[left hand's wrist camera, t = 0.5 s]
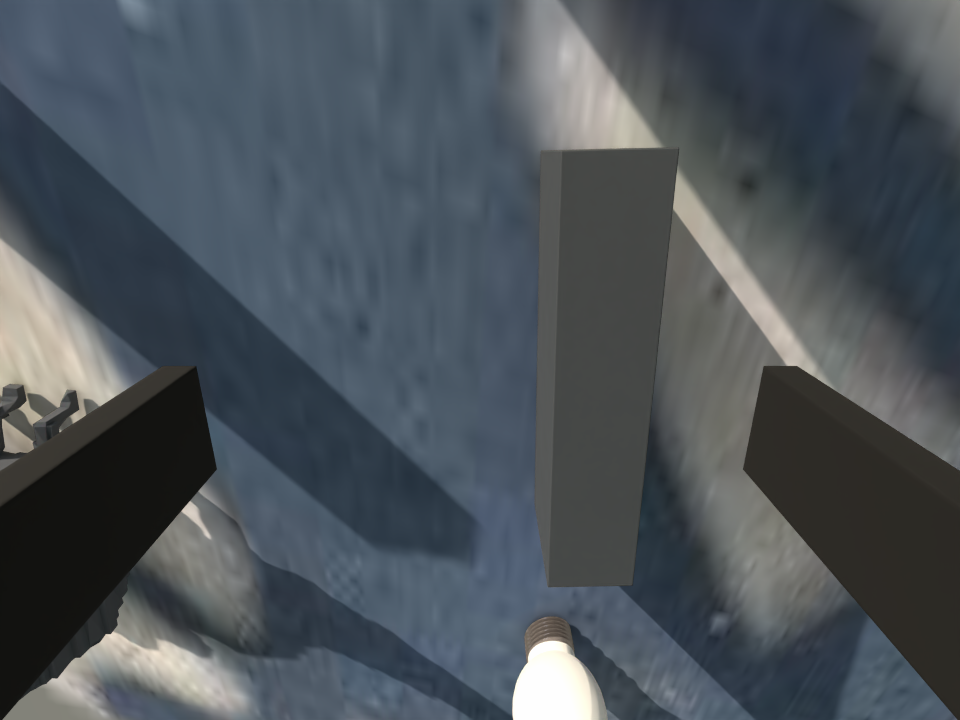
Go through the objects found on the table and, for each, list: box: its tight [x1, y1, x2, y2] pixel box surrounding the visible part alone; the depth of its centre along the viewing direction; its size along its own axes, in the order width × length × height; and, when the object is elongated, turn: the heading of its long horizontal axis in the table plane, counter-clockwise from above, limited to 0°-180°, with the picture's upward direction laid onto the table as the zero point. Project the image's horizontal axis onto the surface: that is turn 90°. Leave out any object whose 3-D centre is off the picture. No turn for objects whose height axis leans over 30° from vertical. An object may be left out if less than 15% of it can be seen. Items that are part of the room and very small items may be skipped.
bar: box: [535, 147, 679, 587], centre depth 32 cm, size 25×5×8 cm, turn 1°
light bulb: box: [513, 617, 607, 720], centre depth 40 cm, size 7×7×11 cm
